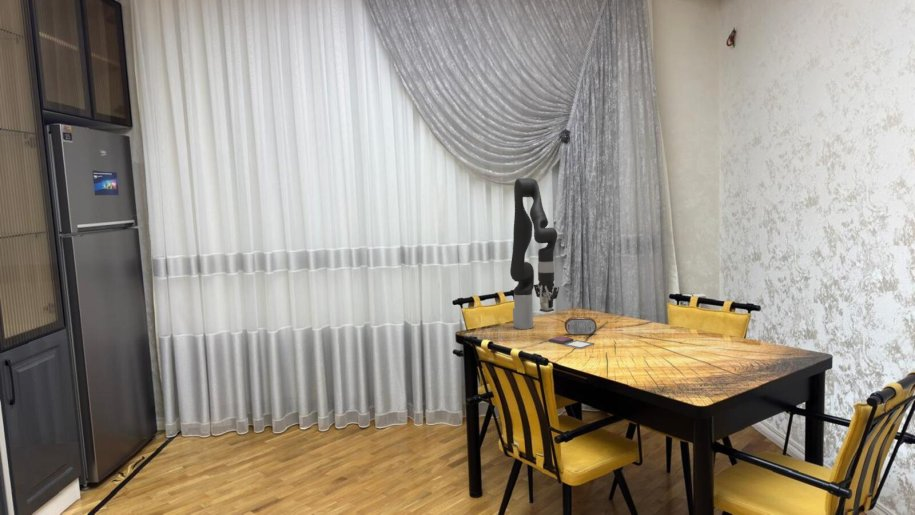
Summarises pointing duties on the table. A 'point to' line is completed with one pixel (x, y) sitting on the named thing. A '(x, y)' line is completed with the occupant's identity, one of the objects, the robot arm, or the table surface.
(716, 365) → the table surface
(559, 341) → the ink pad
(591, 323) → the tin
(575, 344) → the marked box
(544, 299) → the stamp
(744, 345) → the table surface
